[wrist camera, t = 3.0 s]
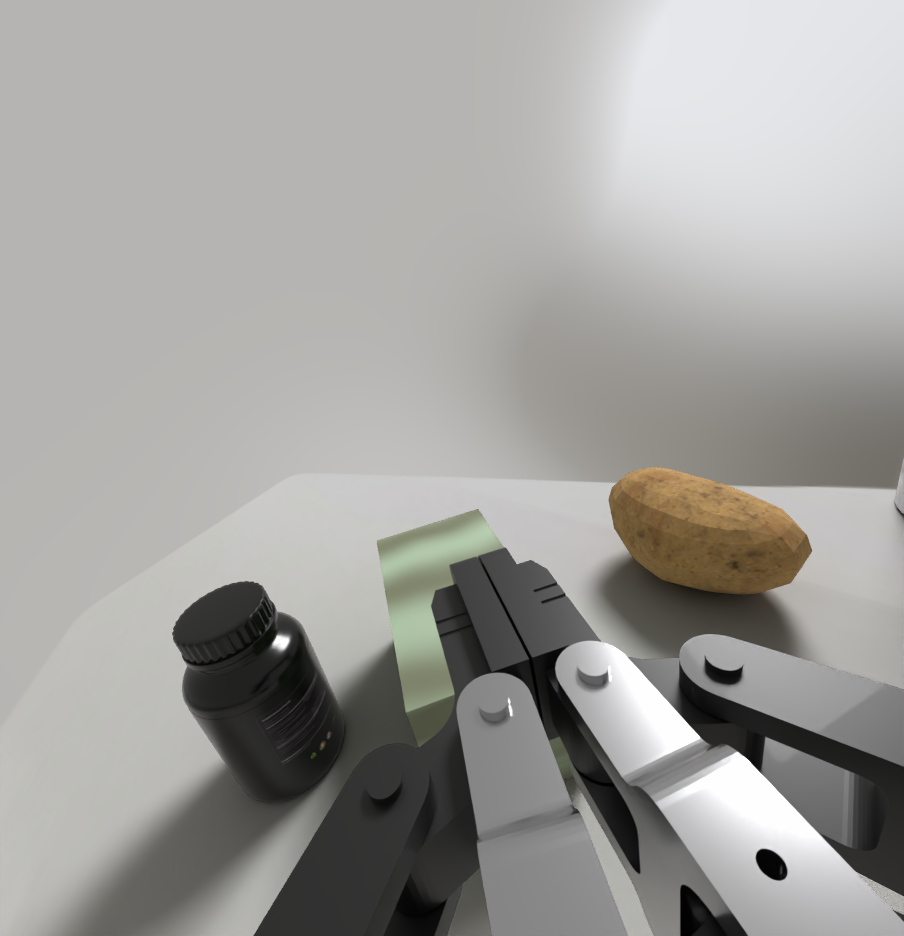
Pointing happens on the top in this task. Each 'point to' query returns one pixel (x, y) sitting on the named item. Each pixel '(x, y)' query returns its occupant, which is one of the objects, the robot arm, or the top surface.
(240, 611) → the supplement bottle
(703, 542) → the potato
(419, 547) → the sage-green block
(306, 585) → the top surface
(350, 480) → the top surface
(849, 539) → the top surface
